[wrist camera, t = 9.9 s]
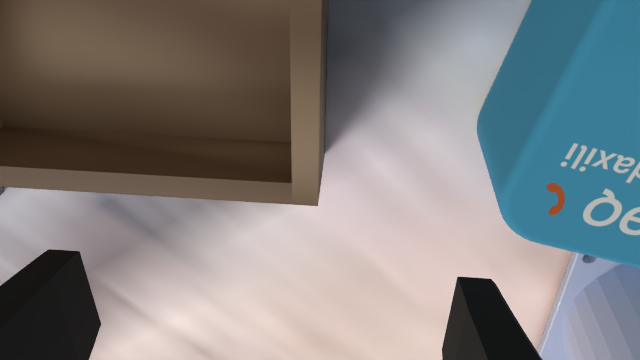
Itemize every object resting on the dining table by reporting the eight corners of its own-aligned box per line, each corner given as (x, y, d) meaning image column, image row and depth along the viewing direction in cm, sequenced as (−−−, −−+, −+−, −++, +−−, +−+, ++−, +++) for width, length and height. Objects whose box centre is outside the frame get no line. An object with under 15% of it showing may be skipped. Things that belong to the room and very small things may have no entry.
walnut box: (324, 154, 20) (317, 206, 18) (-3, 136, 21) (-54, 183, 18) (334, -227, 14) (325, -231, 11) (-135, -237, 14) (-239, -242, 12)
